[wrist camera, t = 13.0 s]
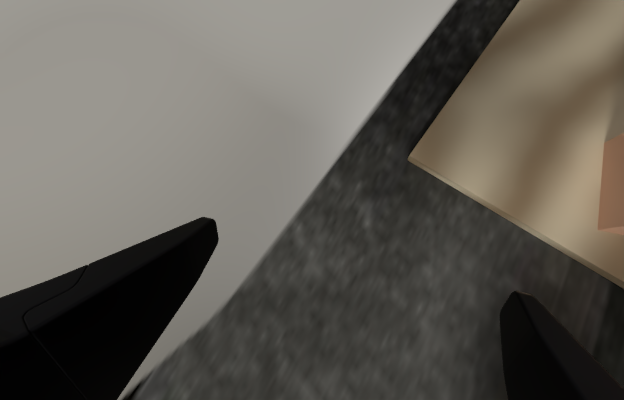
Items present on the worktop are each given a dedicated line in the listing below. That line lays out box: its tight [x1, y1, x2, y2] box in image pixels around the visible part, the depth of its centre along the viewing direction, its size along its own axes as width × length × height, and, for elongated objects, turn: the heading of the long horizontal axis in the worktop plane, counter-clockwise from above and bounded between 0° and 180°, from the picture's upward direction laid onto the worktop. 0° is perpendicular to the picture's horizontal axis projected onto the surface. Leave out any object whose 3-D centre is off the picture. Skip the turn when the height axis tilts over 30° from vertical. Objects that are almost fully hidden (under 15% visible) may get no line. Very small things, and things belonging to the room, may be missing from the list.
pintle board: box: [408, 0, 624, 289], centre depth 19 cm, size 16×19×5 cm
